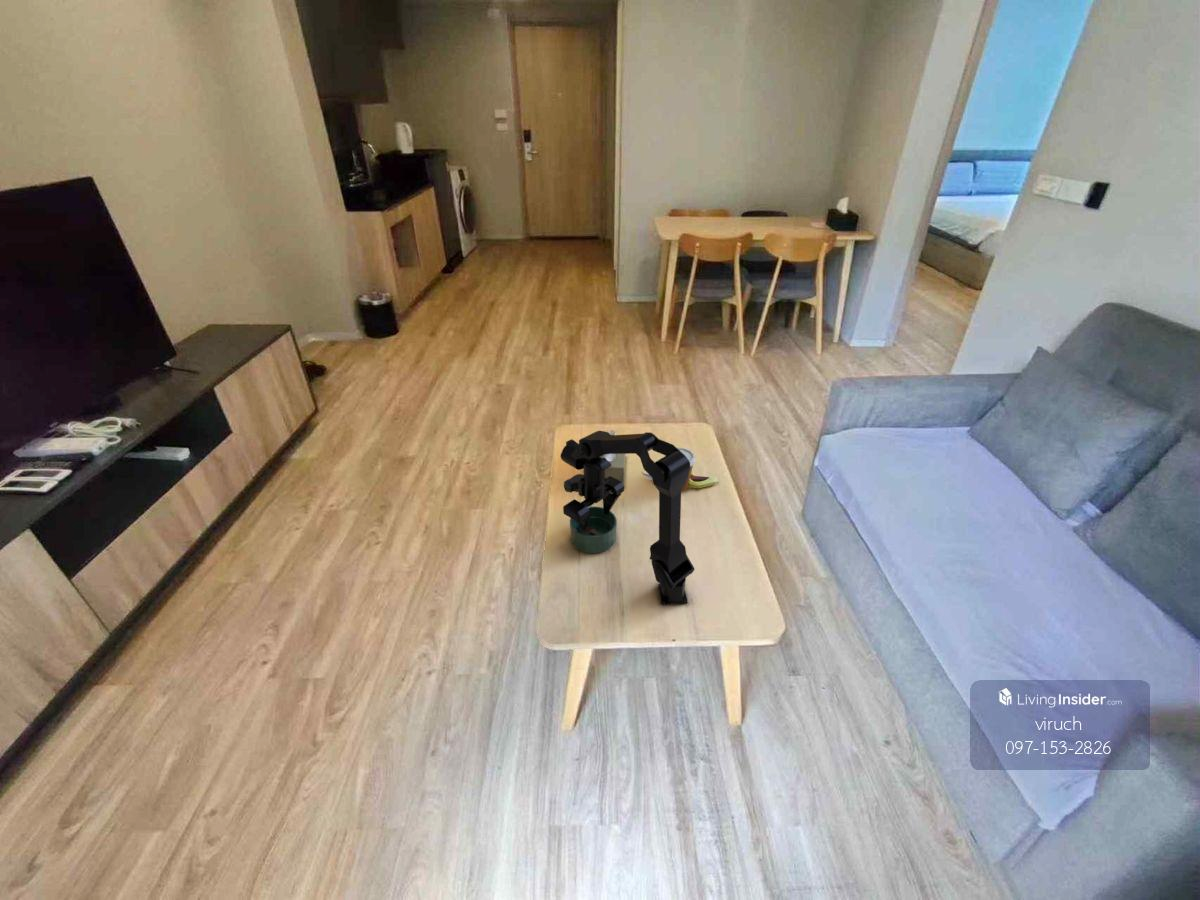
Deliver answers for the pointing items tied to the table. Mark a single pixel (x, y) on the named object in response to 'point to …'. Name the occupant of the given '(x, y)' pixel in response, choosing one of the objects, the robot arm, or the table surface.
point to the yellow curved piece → (696, 480)
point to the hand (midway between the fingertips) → (594, 522)
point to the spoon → (590, 531)
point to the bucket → (600, 524)
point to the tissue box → (615, 465)
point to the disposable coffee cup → (692, 460)
